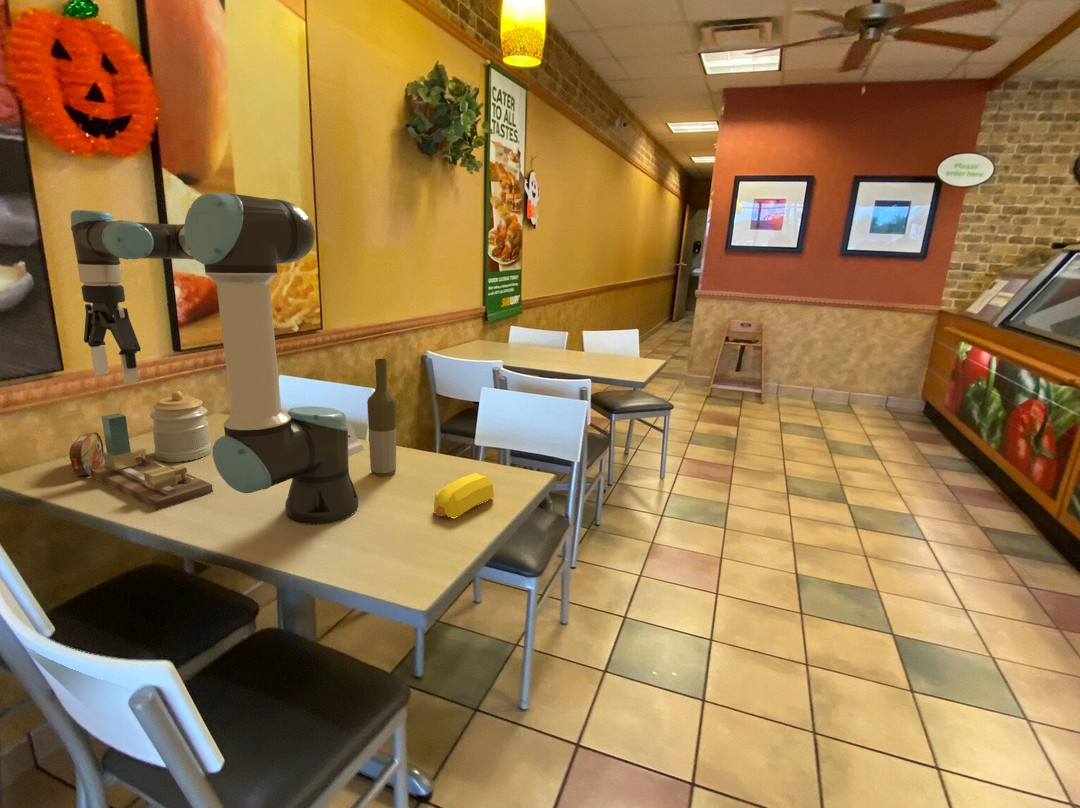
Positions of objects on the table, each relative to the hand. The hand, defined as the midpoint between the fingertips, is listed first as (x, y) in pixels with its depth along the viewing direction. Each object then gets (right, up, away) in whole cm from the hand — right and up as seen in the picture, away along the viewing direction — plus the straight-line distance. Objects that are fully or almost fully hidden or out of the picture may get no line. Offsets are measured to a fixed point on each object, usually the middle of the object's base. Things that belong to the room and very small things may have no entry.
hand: (116, 378), depth 132 cm
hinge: (+40, -21, +28) cm, 53 cm away
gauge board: (+6, -25, +3) cm, 26 cm away
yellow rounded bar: (+80, -30, 0) cm, 86 cm away
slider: (-2, -21, +7) cm, 22 cm away
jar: (+2, -20, +23) cm, 30 cm away
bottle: (+57, -24, +17) cm, 64 cm away
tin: (-14, -22, +10) cm, 29 cm away
